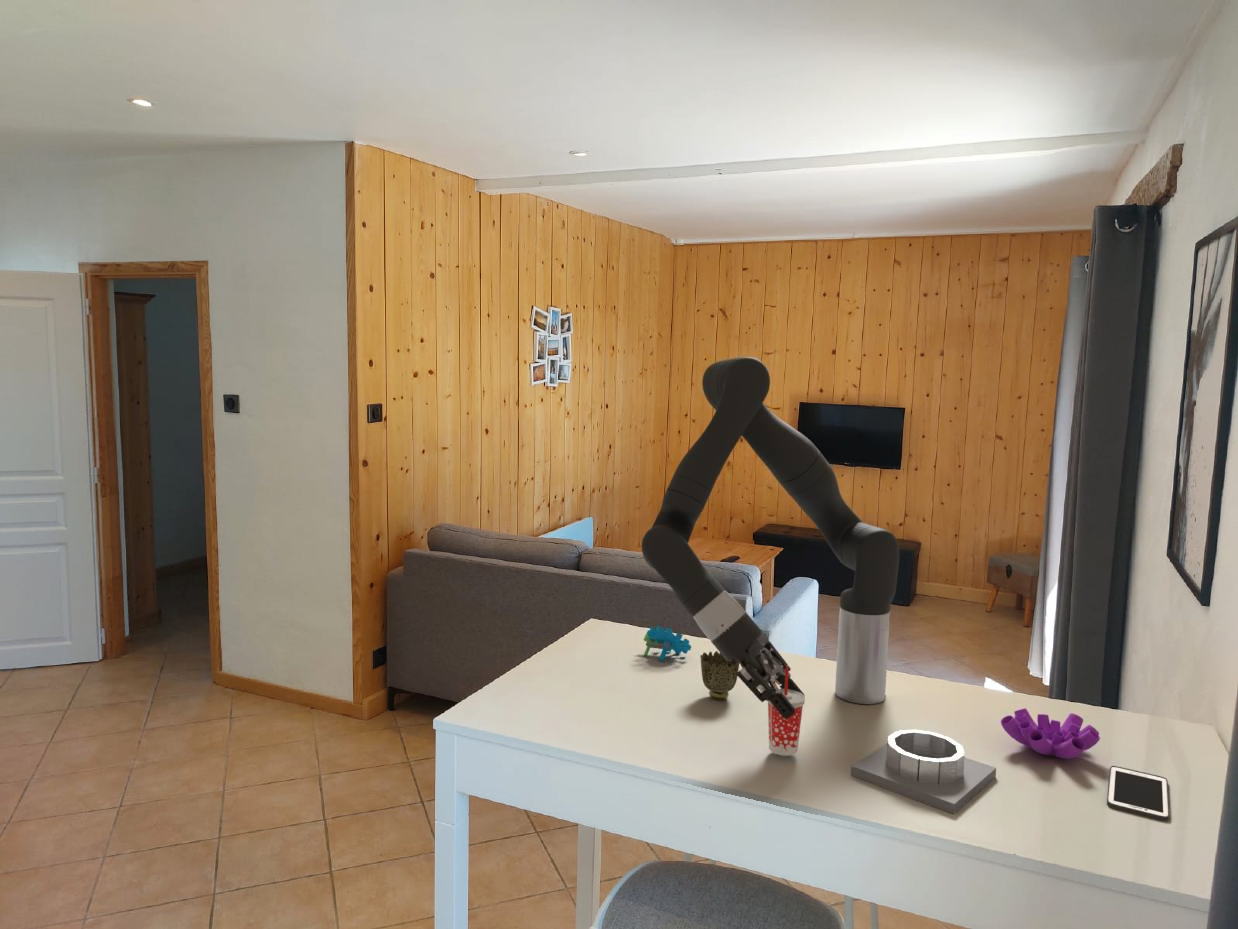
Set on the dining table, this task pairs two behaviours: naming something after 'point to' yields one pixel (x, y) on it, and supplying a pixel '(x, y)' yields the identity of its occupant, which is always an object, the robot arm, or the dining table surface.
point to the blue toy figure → (665, 641)
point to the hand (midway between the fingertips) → (795, 707)
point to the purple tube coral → (1051, 734)
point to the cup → (718, 674)
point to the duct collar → (924, 768)
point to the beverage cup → (785, 723)
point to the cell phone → (1138, 793)
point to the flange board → (931, 794)
